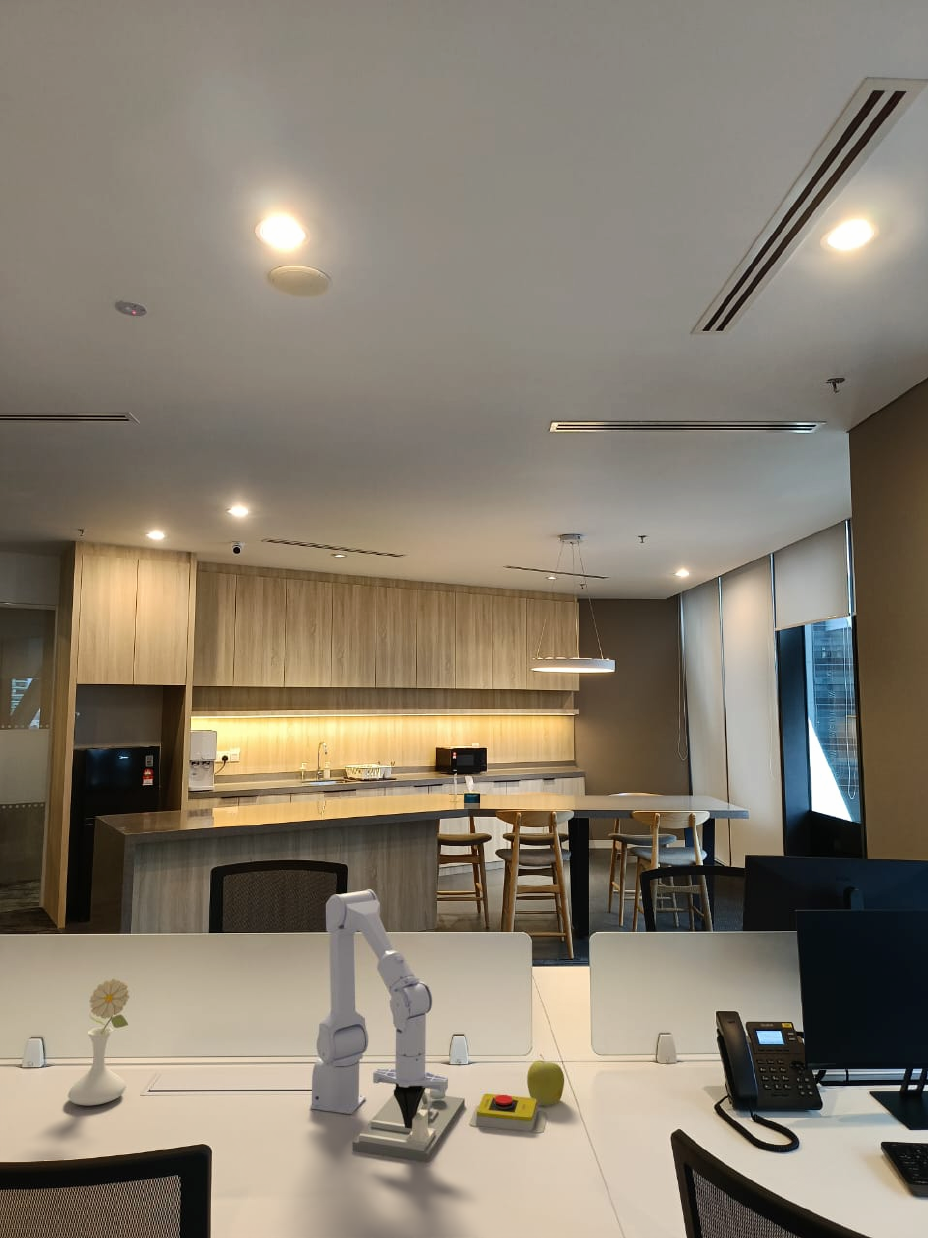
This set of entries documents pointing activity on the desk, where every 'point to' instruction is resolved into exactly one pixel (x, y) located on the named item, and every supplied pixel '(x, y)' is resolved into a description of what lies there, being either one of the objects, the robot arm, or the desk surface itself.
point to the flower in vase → (102, 1047)
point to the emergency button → (509, 1114)
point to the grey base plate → (407, 1129)
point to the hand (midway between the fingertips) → (409, 1126)
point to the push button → (436, 1094)
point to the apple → (545, 1082)
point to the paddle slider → (420, 1128)
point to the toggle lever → (426, 1103)
